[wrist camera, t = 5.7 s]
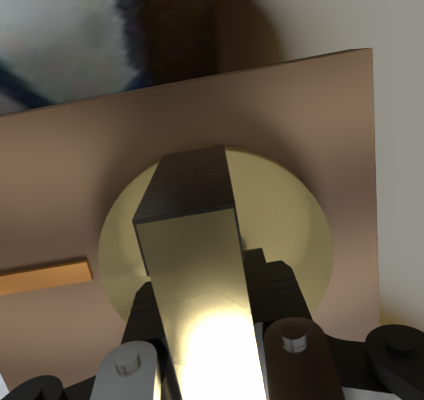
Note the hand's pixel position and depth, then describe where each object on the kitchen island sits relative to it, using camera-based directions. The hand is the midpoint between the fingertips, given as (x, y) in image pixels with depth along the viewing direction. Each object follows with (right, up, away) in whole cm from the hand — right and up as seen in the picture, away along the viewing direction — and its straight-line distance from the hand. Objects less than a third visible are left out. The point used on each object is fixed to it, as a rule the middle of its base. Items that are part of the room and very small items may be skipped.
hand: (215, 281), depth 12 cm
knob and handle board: (-1, -3, +6) cm, 7 cm away
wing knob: (0, +1, +2) cm, 2 cm away
